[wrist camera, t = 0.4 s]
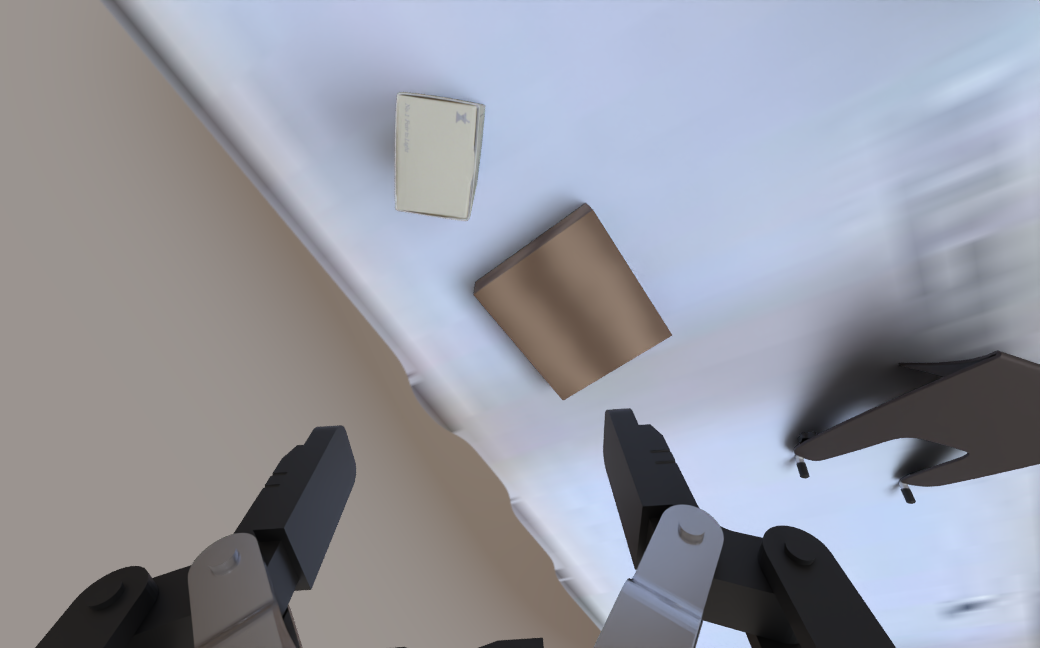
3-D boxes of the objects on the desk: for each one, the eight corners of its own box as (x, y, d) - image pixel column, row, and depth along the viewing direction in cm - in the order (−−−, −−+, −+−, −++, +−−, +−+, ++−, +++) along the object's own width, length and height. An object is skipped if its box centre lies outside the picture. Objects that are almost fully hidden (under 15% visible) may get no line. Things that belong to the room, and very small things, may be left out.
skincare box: (429, 95, 32) (392, 84, 21) (488, 105, 32) (482, 99, 21) (425, 181, 34) (390, 211, 24) (479, 189, 35) (469, 222, 24)
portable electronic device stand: (755, 400, 54) (775, 472, 48) (951, 286, 36) (1018, 378, 30) (898, 439, 58) (931, 509, 52) (1137, 353, 40) (1227, 446, 34)
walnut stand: (586, 202, 36) (592, 209, 33) (661, 320, 41) (672, 335, 38) (475, 282, 38) (473, 294, 36) (559, 383, 44) (562, 400, 41)
